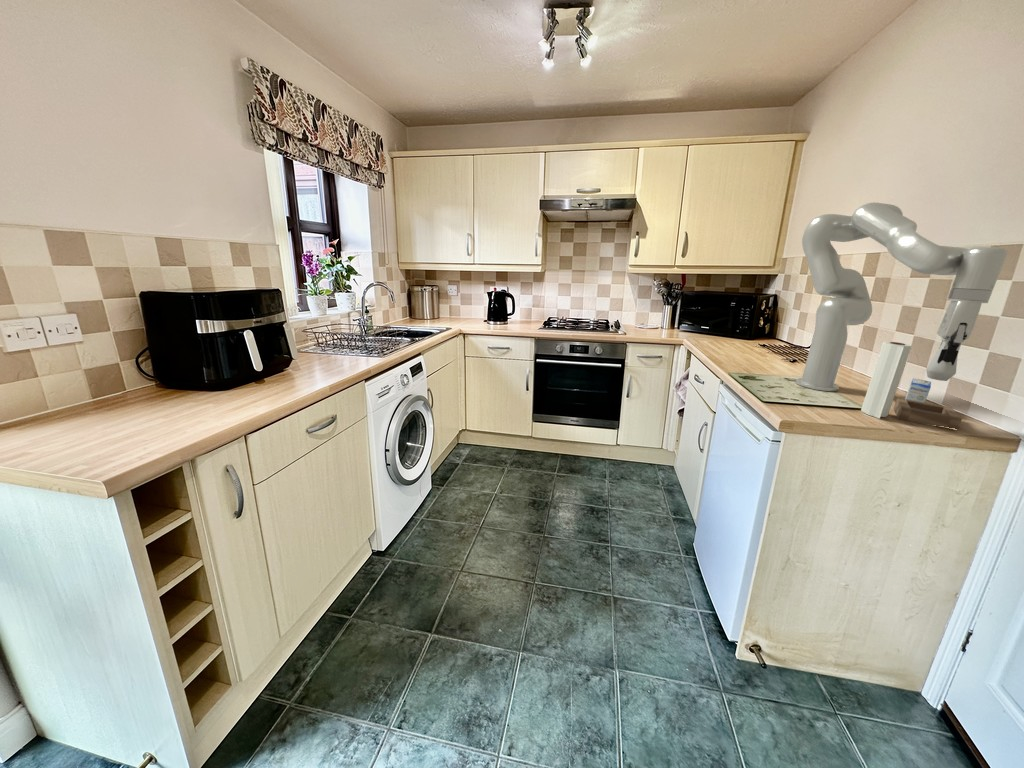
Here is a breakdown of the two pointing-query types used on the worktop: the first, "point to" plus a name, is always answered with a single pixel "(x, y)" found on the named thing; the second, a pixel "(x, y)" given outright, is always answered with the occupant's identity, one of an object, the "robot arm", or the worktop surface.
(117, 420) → the worktop surface
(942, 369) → the salt shaker
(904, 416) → the holder
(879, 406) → the paper towel roll
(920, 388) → the medicine box
